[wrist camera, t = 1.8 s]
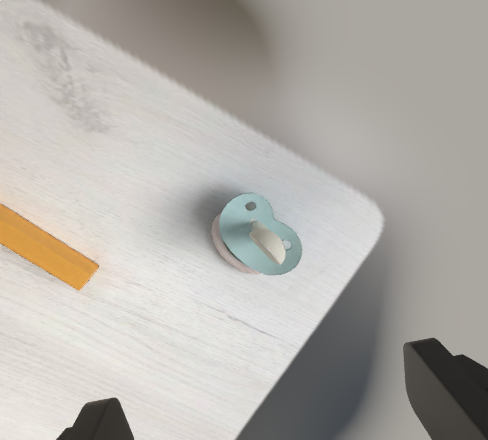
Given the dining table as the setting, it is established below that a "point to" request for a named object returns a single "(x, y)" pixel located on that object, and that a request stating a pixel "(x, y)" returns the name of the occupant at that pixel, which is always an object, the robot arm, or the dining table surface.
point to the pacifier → (254, 237)
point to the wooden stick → (44, 250)
